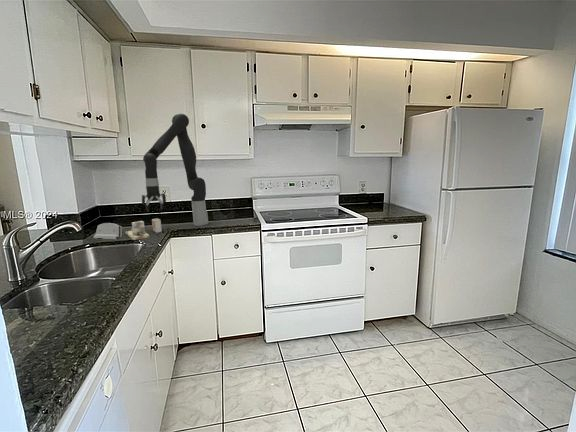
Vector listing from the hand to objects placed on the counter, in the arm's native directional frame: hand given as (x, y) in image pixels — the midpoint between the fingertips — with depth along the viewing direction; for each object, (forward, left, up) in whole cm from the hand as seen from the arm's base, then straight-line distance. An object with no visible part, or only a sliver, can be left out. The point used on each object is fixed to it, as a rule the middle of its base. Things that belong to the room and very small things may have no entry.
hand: (154, 210), depth 205 cm
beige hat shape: (+13, +2, -14) cm, 19 cm away
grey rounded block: (+27, -7, -15) cm, 31 cm away
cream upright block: (0, 0, -14) cm, 14 cm away
